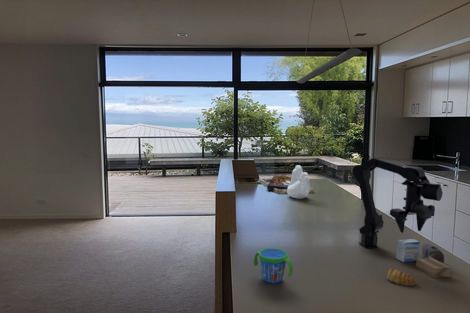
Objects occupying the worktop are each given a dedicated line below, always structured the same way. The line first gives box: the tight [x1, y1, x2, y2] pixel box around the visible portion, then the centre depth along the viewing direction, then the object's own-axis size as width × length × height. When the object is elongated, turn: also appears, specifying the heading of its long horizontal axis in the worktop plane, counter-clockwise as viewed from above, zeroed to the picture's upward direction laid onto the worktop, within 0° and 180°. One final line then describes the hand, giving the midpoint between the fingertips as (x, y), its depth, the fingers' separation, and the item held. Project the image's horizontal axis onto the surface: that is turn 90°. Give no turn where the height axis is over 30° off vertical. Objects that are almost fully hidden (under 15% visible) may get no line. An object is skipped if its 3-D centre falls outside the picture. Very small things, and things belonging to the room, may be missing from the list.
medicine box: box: [396, 238, 421, 264], centre depth 149 cm, size 8×4×9 cm, turn 105°
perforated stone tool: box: [421, 243, 445, 264], centre depth 149 cm, size 15×5×7 cm, turn 172°
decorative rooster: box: [287, 164, 311, 200], centre depth 260 cm, size 25×16×25 cm, turn 2°
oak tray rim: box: [258, 178, 315, 195], centre depth 305 cm, size 32×52×3 cm, turn 12°
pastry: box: [386, 268, 417, 287], centre depth 129 cm, size 9×7×4 cm
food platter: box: [266, 174, 292, 192], centre depth 305 cm, size 45×25×10 cm, turn 167°
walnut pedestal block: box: [415, 257, 452, 279], centre depth 138 cm, size 7×10×4 cm
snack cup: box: [253, 247, 294, 284], centre depth 127 cm, size 16×10×10 cm
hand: (410, 231), depth 149 cm, fingers open, 9 cm apart
